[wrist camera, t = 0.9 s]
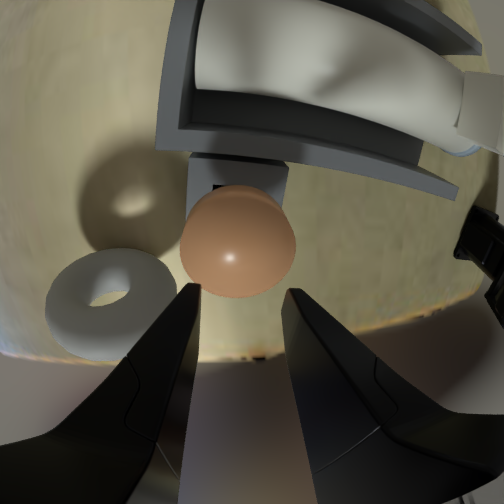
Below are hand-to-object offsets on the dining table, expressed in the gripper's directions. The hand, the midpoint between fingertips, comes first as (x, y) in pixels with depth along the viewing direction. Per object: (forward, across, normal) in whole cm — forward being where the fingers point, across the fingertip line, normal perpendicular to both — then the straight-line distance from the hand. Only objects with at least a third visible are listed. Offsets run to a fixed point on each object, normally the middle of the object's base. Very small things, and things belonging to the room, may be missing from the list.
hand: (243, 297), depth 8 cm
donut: (+12, +8, +7) cm, 16 cm away
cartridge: (+11, -6, -9) cm, 15 cm away
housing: (+12, -5, -6) cm, 14 cm away
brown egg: (+8, 0, 0) cm, 8 cm away
